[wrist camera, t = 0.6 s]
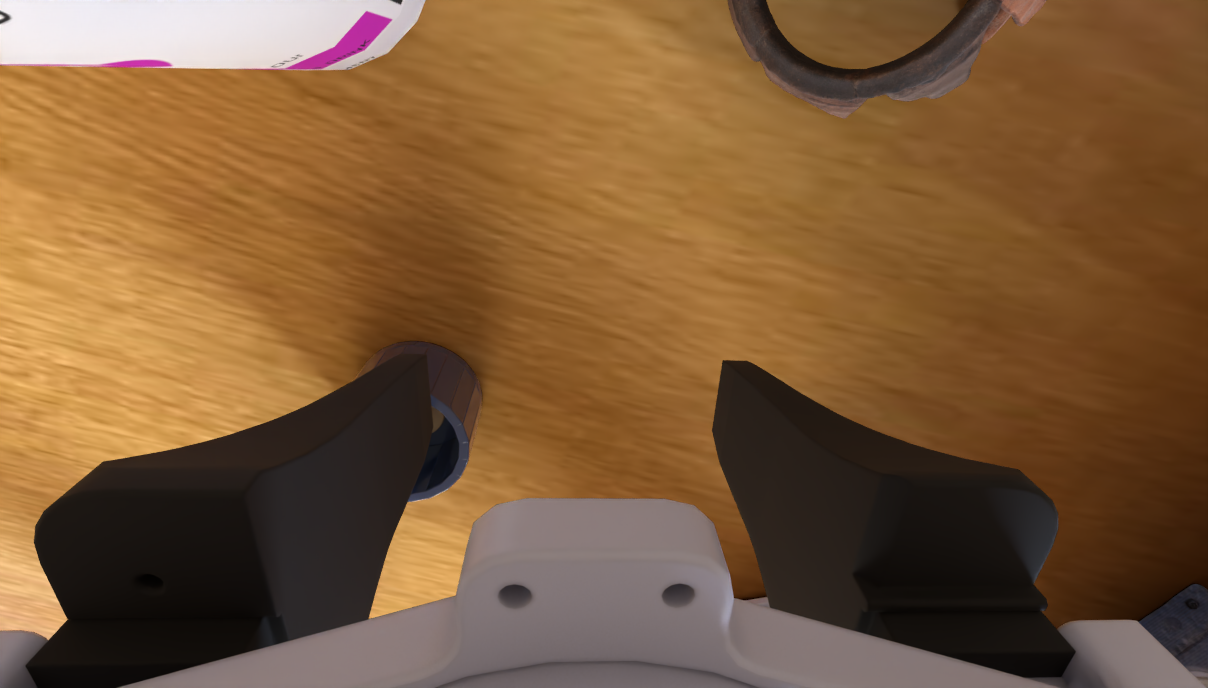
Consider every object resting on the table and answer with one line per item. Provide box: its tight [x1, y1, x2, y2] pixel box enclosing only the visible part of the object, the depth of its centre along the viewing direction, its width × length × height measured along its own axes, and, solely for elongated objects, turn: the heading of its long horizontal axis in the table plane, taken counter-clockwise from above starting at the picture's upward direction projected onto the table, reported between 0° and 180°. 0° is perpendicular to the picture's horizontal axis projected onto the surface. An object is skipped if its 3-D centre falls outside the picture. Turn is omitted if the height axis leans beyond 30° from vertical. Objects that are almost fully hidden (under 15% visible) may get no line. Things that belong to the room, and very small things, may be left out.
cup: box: [353, 341, 482, 502], centre depth 24 cm, size 5×5×4 cm
